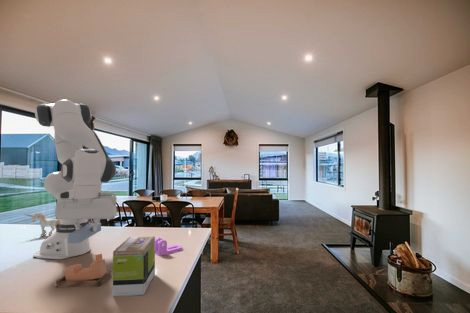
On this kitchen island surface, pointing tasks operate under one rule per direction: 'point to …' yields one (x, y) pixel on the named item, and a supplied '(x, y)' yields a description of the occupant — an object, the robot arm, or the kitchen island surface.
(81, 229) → the panel
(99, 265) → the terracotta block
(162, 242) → the bracket
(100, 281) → the cradle
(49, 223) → the unicorn figurine
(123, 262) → the tea box
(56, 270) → the kitchen island surface
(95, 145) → the robot arm
